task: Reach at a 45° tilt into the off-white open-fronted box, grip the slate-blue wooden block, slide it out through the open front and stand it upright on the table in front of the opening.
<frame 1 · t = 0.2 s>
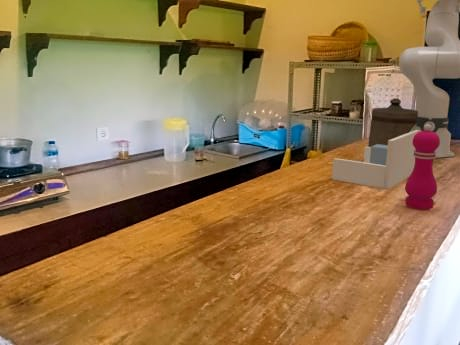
hand: (439, 13, 140), 48 cm above the counter, tool pointing down, fingers open, 8 cm apart
open box: (379, 179, 141), on the counter
wooden container: (389, 163, 164), on the counter
pepper mill: (418, 206, 116), on the counter
block: (379, 176, 140), point 1 cm above the counter, touching open box
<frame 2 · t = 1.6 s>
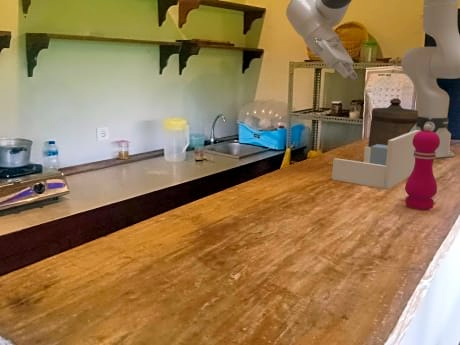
hand: (351, 77, 141), 29 cm above the counter, tool tilted 45°, fingers open, 8 cm apart
nothing on the counter moved.
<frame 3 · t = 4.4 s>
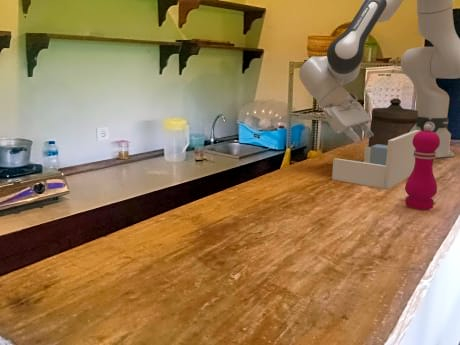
hand: (365, 139, 141), 12 cm above the counter, tool tilted 45°, fingers open, 8 cm apart
nothing on the counter moved.
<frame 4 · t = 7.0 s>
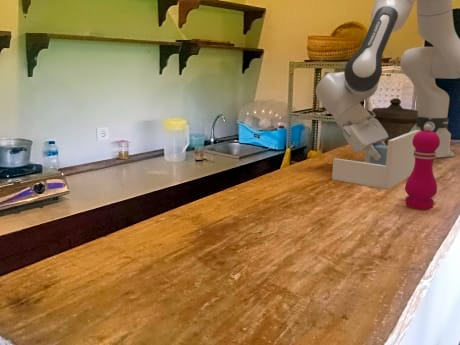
hand: (383, 157, 139), 7 cm above the counter, tool tilted 45°, fingers closed on block, 5 cm apart
block: (379, 176, 140), point 1 cm above the counter, touching gripper, open box
everything else where it was.
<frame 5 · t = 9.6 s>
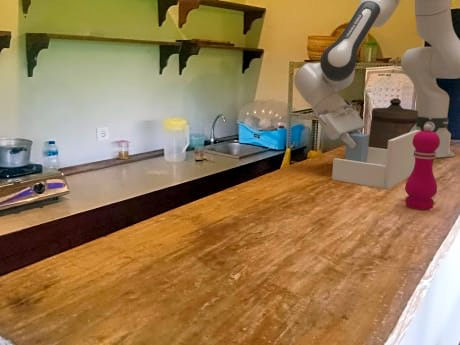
hand: (359, 145, 142), 9 cm above the counter, tool tilted 45°, fingers closed on block, 5 cm apart
block: (355, 164, 144), point 4 cm above the counter, touching gripper
everything else where it was.
when the fingers open (7 cm above the counter, at t = 12.6 s): block drops 1 cm, on the counter.
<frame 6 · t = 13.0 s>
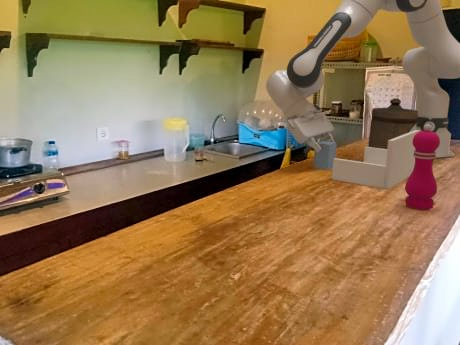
hand: (327, 148, 149), 7 cm above the counter, tool tilted 45°, fingers open, 8 cm apart
block: (324, 170, 151), on the counter
everything else where it was.
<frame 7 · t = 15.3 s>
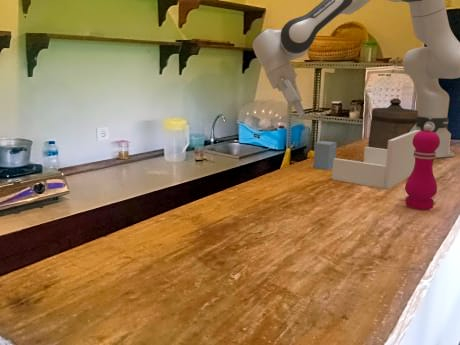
hand: (302, 115, 156), 16 cm above the counter, tool tilted 30°, fingers open, 8 cm apart
nothing on the counter moved.
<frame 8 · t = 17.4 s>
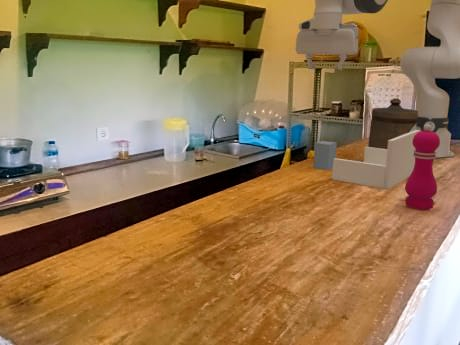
hand: (324, 69, 152), 31 cm above the counter, tool pointing down, fingers open, 8 cm apart
nothing on the counter moved.
at the end: block inside the target area on the counter beside the open box (2.6 cm from its centre), on the counter; block tilted 0°; the gripper is holding nothing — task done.
